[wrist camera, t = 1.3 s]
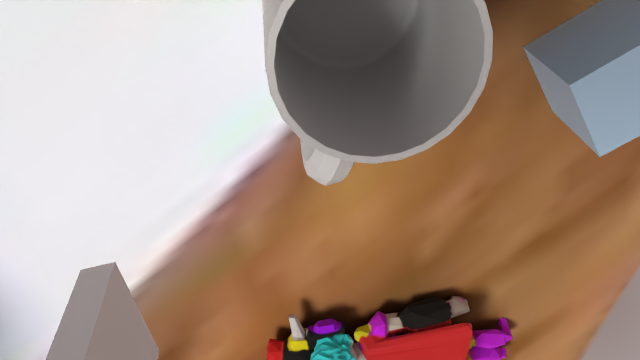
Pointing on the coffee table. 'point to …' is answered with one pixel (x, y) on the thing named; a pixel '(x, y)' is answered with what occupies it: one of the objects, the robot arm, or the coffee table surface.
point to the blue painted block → (594, 73)
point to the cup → (373, 75)
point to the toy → (396, 337)
